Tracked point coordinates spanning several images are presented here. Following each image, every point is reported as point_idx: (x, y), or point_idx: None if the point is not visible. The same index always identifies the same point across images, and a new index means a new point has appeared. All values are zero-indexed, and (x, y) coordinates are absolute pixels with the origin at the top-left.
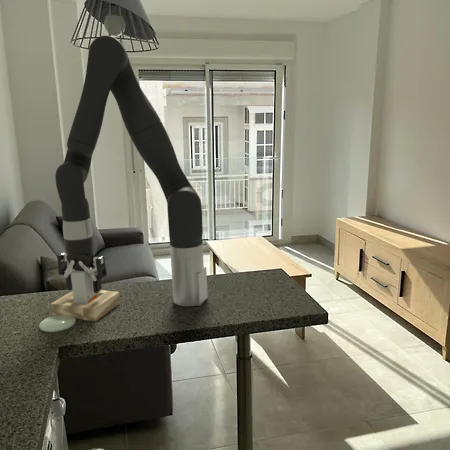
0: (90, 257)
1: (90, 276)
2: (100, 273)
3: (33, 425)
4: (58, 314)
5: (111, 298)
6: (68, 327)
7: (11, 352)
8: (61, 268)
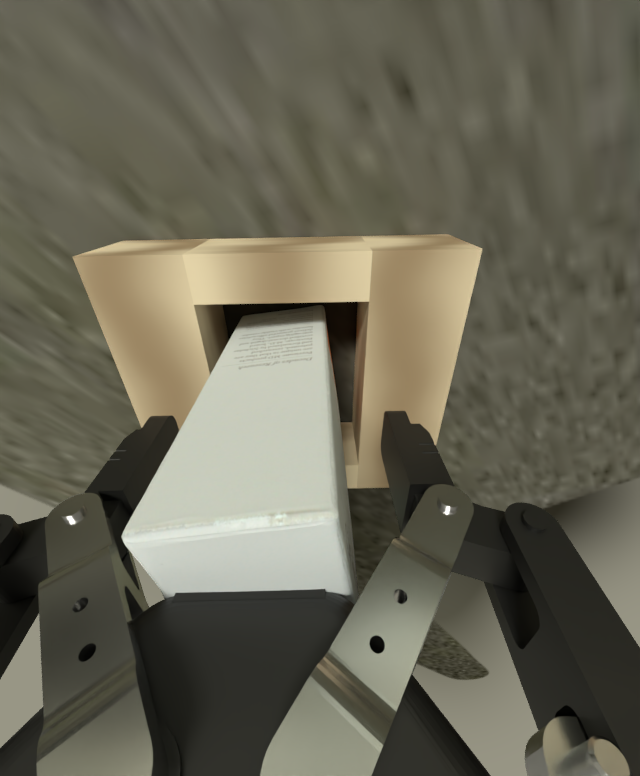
0: None
1: (349, 520)
2: (538, 625)
3: (476, 666)
4: None
5: (455, 349)
6: None
7: None
8: (12, 650)
